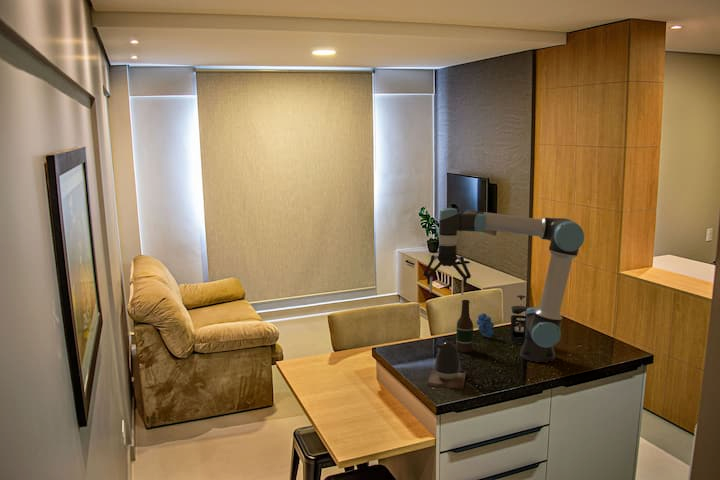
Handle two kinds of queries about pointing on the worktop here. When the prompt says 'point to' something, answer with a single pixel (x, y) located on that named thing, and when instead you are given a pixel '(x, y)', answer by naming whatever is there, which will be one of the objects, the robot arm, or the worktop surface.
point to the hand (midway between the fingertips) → (446, 293)
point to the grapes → (485, 325)
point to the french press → (517, 330)
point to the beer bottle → (464, 330)
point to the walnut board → (446, 381)
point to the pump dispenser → (447, 361)
